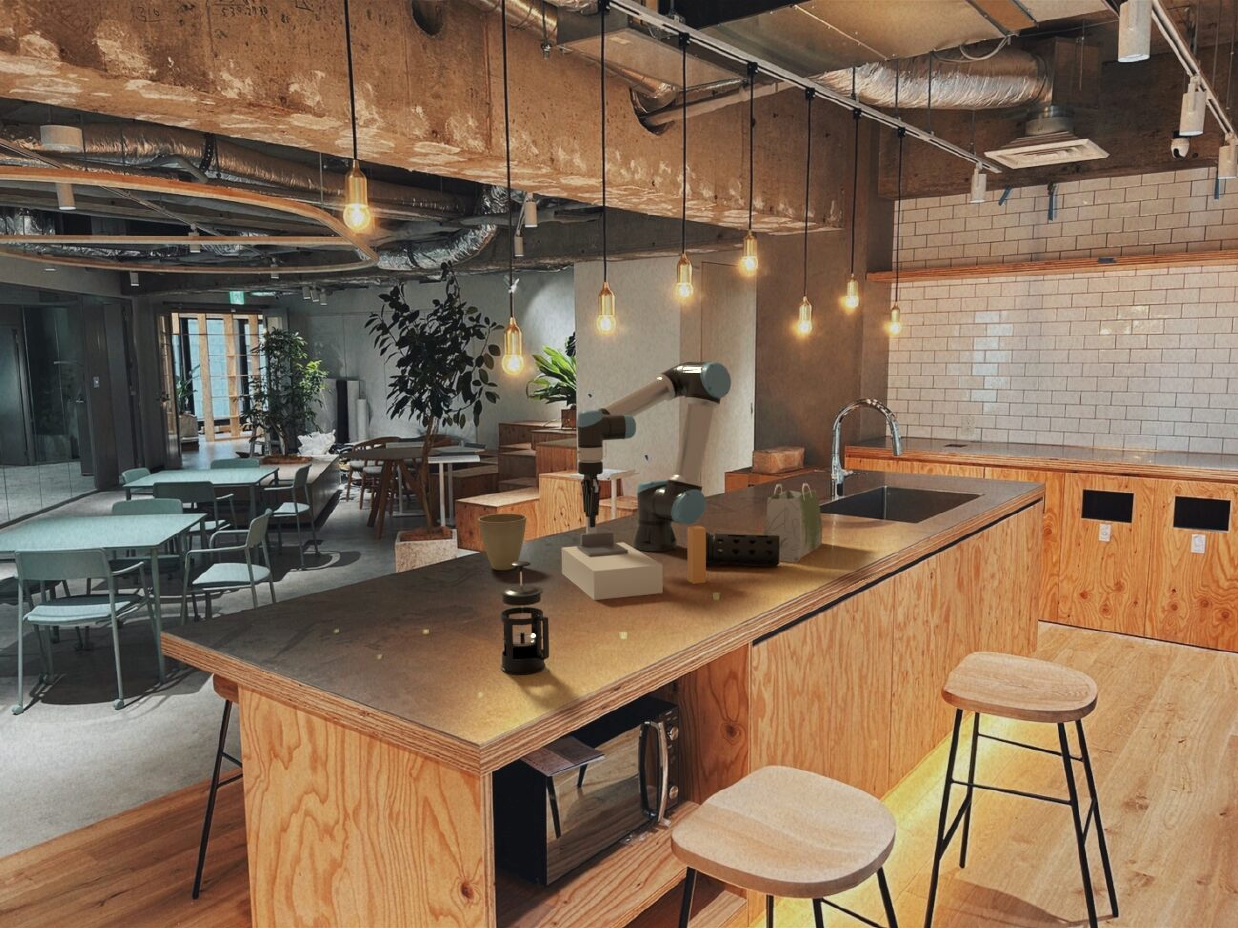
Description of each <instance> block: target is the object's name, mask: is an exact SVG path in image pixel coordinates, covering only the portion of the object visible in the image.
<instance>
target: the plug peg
mask: <svg viewBox="0 0 1238 928" xmlns="http://www.w3.org/2000/svg"><path fill="white" fill-rule="evenodd" d="M706 532H707V528H705V527H704V526H701V525H695V526H693V525H692V526H687V581H688V582H689V583H691V584H693V585H694V584H704V583H707V582H706V581H707V579H706V578H707V576H706V575H707V566H706V565H707V563H706Z"/></svg>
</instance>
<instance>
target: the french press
mask: <svg viewBox="0 0 1238 928" xmlns="http://www.w3.org/2000/svg"><path fill="white" fill-rule="evenodd" d="M531 564H532V563H531V562H529V561H525V560H518V561H517V562H513V563H511V565H512V566H516V567H517V568H518V572H519V578H520V579H519V581H520V583H519V585H511V586H507V587H503V588H501V589H500V591H499V594H500V595H501V596H502V597H501V598H502V602H503V604H505V605H509V606H516V607H512V608H507V609H505V610H503V611H501V613H500V621H501V622H502V623H503V638H502V641H503V649H504V650H502V652H501V666H500V669H501V671H502V672H504V673H506V674H509V675H516V676H526V675H527V676H529V675H533V674H537V673H539V672H542V671H543V670H544V669H545V668H546V663H545V660H547V659H549V658H550V629H549V617H547V616H544V612H543V610H542V609H539V608H538V607H537V608H536V607H531V606H529V605H536V604H538V603H540V601H541V597H542V594H543V592H544V591H543V588H542V587H539V586H537V585H531V584H529V585H528V584H527V585H526V584H525V585H524V584H523V572H524V567H528V566H531ZM516 567H515V568H516ZM516 614H520V618H510V615H516ZM524 614H530V617H528V618H524ZM529 625H530V627H531V632H529V631H528V632H527V631H525V632H524V626H529ZM514 626H521V627H520V628H521V631H520V632H515V633H514V628H513V627H514Z"/></svg>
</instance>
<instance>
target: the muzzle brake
mask: <svg viewBox="0 0 1238 928" xmlns="http://www.w3.org/2000/svg"><path fill="white" fill-rule="evenodd" d="M779 548H780V537H779V535H763V534H738V533H737V534H730V533H714V534H711V533H710V532H707V531H706V564H707V563H708V566H720V565H721V564H733V565H735V564H736V565H737V566H739V567H740V566H747V567H767V568H768V567H769V568H778V566H779V565H780V561H779Z"/></svg>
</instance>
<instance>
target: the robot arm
mask: <svg viewBox="0 0 1238 928" xmlns="http://www.w3.org/2000/svg"><path fill="white" fill-rule="evenodd" d="M731 379H732V378H731V375H730V372H728V369H727V367H726V366H724V365H723V363H720V362H715V361H686V362H682V363H679V364H678V365H675V366H673V367H670V368H669V369H667V370H665V371H664V372H661V373H660V374H657V375H656V376H655V379H654V380H652V381H650V382H649V383H646V384H645V385H643V386H640V387H639V388H637V389H635V390H633V391H631V392H629V393H628V394H626V395H624V396H622V397H619V398H618V399H616V400H614V401H612V402H611V403H608V404H607V405H604V406H603V407H601V408H598V409H583V410H580V411H578V413H577V419H576V429H577V450H576V451H575V452H576V455H577V456H578V457H577V459H578V463H577V464H578V465H577V470H578V474H579V475H583V479H582V480H581V481H580V485H581V493H582V505H583V513H585V520H586V521H585V525H586V526H585V527H586V528H585V529H586V530H585V531H586V532H585V533H596V532H597V516H599V513H600V496H601V491H602V487H601V485H600V483H599V480H598V475H602V474H604V467H603V466H604V462H603V458H604V447H603V446H604V445H603V444H604V443H603V441H612V440H613V441H614V440H627V439H631V438H633V437H634V435H636V431H637V423H636V420H635V418H634V417H636V416H638V415H639V414H641V413H643V412H645V411H647V410H649V409H650V408H652V407H654V406H657V405H659V404H660V403H663V402H664V401H672V400H675V399H676V398H680V397H684V400H685V401H686V403H687V409H686V413H685V419H684V423H683V428H682V433H681V439H680V444H679V447H678V453H677V456H676V463H675V466H674V473H673V475H672V476H670V477H669V478H667V479H660V480H658V479H657V480H649V481H648V480H647V481H641V482H640V483H638V486H637V492H636V495H637V526H636V530H635V533H634V536H633V540H632V548H634V549H636V550H638V551H643V552H644V551H645V552H666V551H671V550H672V551H673V550H675V549H676V548H677V547H678V540H677V537H676V533H675V530H674V528H673V523H676V524H680V525H691V524H694V523H696V522H697V521H698V520H700V519H701V518H702V517H703V515H704V513H705V511H706V509H707V508H706V507H707V499H706V498H705V496H706V495H705V494H704V493H703V492H702V491H703V484H702V483H701V481H700V479H701V473H702V467H703V464H704V463H703V462H704V458H705V454H706V448H707V443H708V439H709V438H708V437H709V434H710V429H711V425H712V420H713V414H714V410H715V409H716V408H718V407H719V406H720V403H721V399H722V398H724V397H726V395H728V394H729V392H730V390H731V387H732V380H731Z"/></svg>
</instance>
